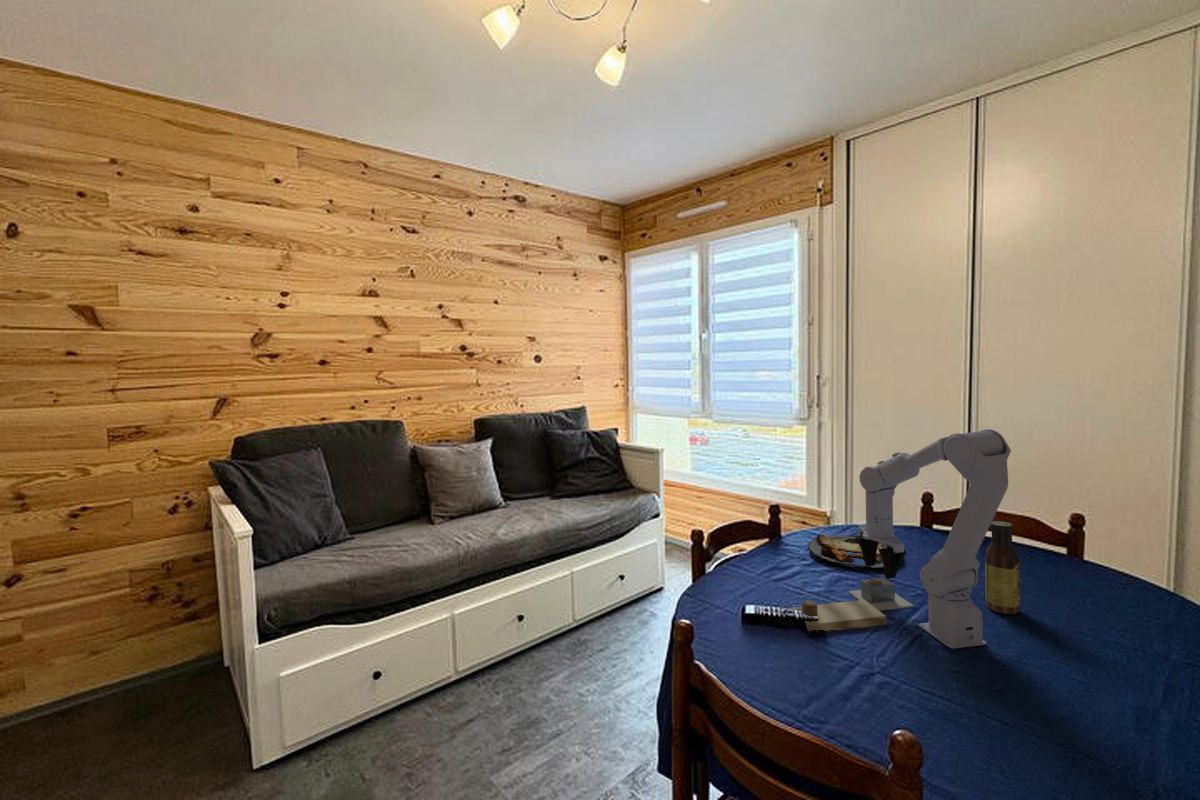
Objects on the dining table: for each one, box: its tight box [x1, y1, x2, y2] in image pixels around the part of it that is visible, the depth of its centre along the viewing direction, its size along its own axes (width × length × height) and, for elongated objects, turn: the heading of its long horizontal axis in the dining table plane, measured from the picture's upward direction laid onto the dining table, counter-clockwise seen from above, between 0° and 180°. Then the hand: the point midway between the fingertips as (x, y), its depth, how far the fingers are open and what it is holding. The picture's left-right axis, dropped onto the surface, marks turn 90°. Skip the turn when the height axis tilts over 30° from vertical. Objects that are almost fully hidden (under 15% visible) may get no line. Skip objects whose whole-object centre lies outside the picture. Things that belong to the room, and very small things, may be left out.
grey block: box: [860, 577, 896, 603], centre depth 129 cm, size 6×4×5 cm, turn 97°
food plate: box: [807, 533, 887, 569], centre depth 157 cm, size 25×23×4 cm
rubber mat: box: [848, 589, 914, 612], centre depth 129 cm, size 10×10×1 cm
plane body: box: [790, 599, 887, 632], centre depth 121 cm, size 18×8×4 cm, turn 96°
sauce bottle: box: [984, 520, 1021, 615], centre depth 121 cm, size 7×6×20 cm
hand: (880, 571), depth 129 cm, fingers open, 7 cm apart
